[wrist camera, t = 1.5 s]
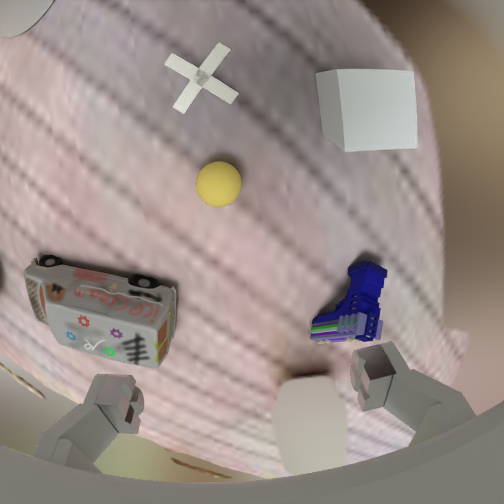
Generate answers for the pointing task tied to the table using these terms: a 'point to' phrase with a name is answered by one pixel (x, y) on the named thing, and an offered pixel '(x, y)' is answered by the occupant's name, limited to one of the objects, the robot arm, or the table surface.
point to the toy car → (103, 311)
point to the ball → (218, 184)
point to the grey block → (368, 108)
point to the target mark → (201, 78)
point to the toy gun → (354, 309)
